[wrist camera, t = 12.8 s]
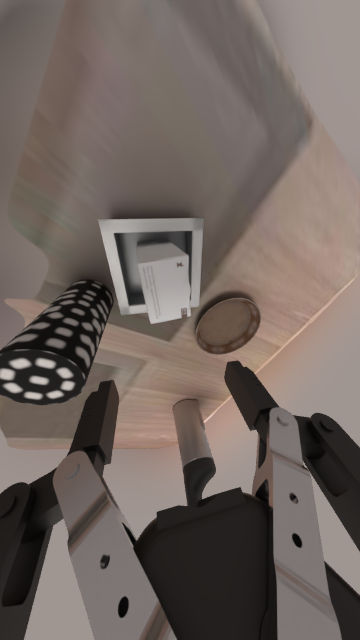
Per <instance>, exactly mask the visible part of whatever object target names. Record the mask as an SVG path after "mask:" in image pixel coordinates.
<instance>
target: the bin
mask: <svg viewBox="0 0 360 640" xmlns="http://www.w3.org/2000/svg"><path fill="white" fill-rule="evenodd" d="M203 221H204V218H166V219H105V220H98V222H99V226H100V230H101V234H102V238H103V242H104V246H105V251H106V255H107V259H108V263H109V267H110V271H111V275H112V279H113V283H114V287H115V291H116V296H117V300H118V304H119V308H120V312H121V315H126V314H136V313H145V312H147V308H146V303H145V299H144V295H143V290H142V286H141V281H140V276H139V271H138V265H137V264H138V256H137V243H138V242H146V241H154V240H163V239H168V240H169V241H170V242H171V243H173V244H174V245H175V246H177V247H178V248H179V249H180V250H182V251H183V252H184V253H186V254H187V255H188V256H189V269H188V272H189V284H190V287H191V293H190V308H191V307H199V296H200V277H201V258H202V240H203Z"/></svg>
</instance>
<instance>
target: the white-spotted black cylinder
mask: <svg viewBox="0 0 360 640" xmlns="http://www.w3.org/2000/svg"><path fill="white" fill-rule="evenodd" d="M112 306H113V297H112V294H111V293H110V291H109V290H108V289H107V287H105V286H104V285H103V284H101V283H99V282H97V281H94V280H86V279H85V280H80V281H77V282H75V283H74V284H72V285H71V286H70V287H69V288H68V289H67V290H66V291H65V292H64V293H63V294H61V295H60V296H59V297H58V298H57V299H56V300H55V301H54V302H53V303H52V304H51V305H49V306H48V307H47V308H46V309H45V310H44V311H43V312H42V313H41V314H40V315H39V316H37V317H36V318H35V319H34V320H33V321H32V322H31V323H30V324H29V325H28V326H27V327H26V328H24V329H23V330H22V331H21V332H20V333H19V334H18V335H17V336H16V337H15V338H14V339H12V340H11V341H10V342H9V343H8V344H7V345H6V346H5V347H4V348H3V349H2V350H0V395H2V396H3V397H6V398H8V399H11V400H13V401H17V402H20V403H25V404H32V405H52V404H58V403H62V402H66V401H68V400H71V399H73V398H74V397H76V396H77V395H79V394H80V393H81V391H82V390H83V389H84V386H85V383H86V381H87V378H88V375H89V372H90V369H91V366H92V363H93V360H94V357H95V355H96V352H97V349H98V346H99V343H100V340H101V337H102V334H103V332H104V329H105V326H106V323H107V320H108V317H109V314H110V311H111V309H112Z"/></svg>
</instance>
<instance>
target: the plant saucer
mask: <svg viewBox="0 0 360 640" xmlns="http://www.w3.org/2000/svg"><path fill="white" fill-rule="evenodd" d="M260 321H261V314H260V310H259V308H258V306H257V305H256V304H255V303H254V302H252V301H251V300H248V299H245V298H230V299H226V300H223V301H220V302H218V303H216V304H215V305H213V306H212V307H210V308H209V309H208V310H207V311H206V312H205V313H204V315H203V316H202V317H201V319H200V321H199V323H198V325H197V328H196V341H197V344H198V345H199V347H200V348H201V349H202V350H204V351H205V352H207V353H210V354H216V355H220V354H227V353H230V352H233V351H235V350H237V349H239V348H241V347H243V346H244V345H245V344H247V343H248V342H249V341H250V340H251V339H252V338H253V336H254V335H255V333H256V332H257V330H258V328H259V325H260Z"/></svg>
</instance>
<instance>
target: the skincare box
mask: <svg viewBox="0 0 360 640" xmlns="http://www.w3.org/2000/svg"><path fill="white" fill-rule="evenodd" d="M137 256H138V264H137V265H138V271H139V276H140V281H141V286H142V290H143V295H144V299H145V303H146V308H147V312H148V316H149V320H150V323H151V324H154V323H159V322H164V321H169V320H174V319H179V318H183V317H188V316H191V309H190V293H191V287H190V284H189V272H188V269H189V256H188V255H187V254H186V253H184V252H183V251H182V250H180V249H179V248H178V247H177V246H175V245H174V244H173V243H171V242H170V241H169V240H168V239H163V240H154V241H146V242H138V243H137Z"/></svg>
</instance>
